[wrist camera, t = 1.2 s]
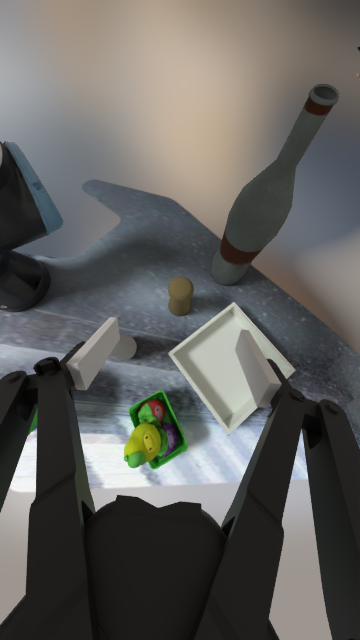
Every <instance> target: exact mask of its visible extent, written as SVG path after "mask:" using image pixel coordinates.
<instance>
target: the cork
mask: <svg viewBox="0 0 360 640" xmlns="http://www.w3.org/2000/svg"><path fill="white" fill-rule="evenodd" d="M193 291H194V288H193V284H192V282H191V281H190V280H189V279H187V278H185V277H177V278H174V279H173V280H172V281H171V282H170V284H169V287H168V293H169V295H170V300H169V304H168V305H169V310H170V312H171V313H172V314H174V315H176V316H184V315H186V314H188V313H189V311H190V310H191V297H192V295H193Z"/></svg>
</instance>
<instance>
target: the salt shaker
mask: <svg viewBox="0 0 360 640" xmlns="http://www.w3.org/2000/svg"><path fill="white" fill-rule="evenodd" d="M136 348H137V345H136V342H135V340H134V339H133V338H132V337H131V336H128V335H120V340H119V341H118V343H117V344H116V346H115V347H114V349H113V351H112V352H111V354H110V355H109V356H112V357H113V358H115V359H116V360H120V361H125V360H129V359H130V358H131V357H133V356H134V354H135V352H136Z"/></svg>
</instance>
